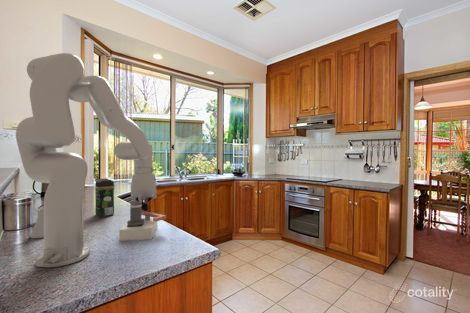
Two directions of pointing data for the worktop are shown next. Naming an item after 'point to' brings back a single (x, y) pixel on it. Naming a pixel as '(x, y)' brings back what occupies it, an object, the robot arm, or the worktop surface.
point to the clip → (156, 216)
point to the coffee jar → (104, 197)
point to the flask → (38, 226)
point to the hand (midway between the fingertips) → (144, 212)
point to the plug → (135, 215)
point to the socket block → (138, 230)
